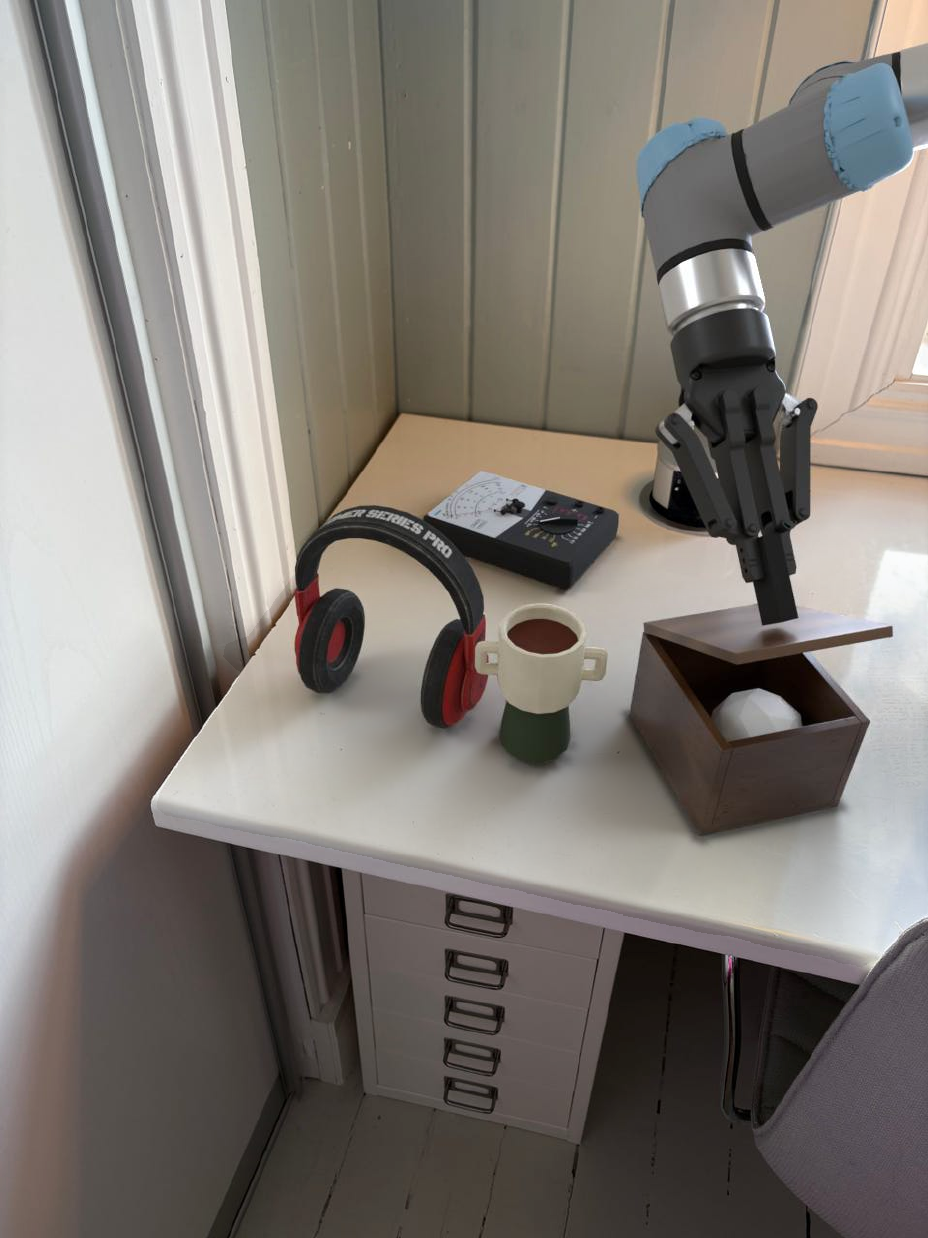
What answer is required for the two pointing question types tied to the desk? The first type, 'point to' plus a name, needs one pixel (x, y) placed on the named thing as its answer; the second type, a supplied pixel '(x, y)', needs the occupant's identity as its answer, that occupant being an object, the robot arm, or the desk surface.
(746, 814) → the chest
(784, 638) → the chest lid
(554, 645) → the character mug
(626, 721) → the desk surface
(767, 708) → the geometric ball
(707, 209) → the robot arm
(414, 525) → the headphones
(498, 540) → the multimeter
